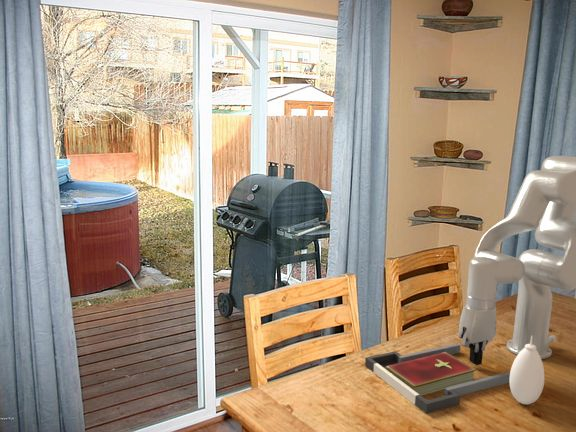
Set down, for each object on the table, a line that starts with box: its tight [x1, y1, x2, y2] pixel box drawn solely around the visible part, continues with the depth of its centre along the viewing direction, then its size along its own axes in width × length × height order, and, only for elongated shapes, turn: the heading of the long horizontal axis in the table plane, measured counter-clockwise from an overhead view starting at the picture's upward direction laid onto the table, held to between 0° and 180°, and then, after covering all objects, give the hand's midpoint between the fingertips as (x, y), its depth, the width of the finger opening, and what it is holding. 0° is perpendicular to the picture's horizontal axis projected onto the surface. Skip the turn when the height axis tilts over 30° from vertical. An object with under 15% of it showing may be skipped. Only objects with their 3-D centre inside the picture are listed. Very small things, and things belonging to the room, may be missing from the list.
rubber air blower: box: [508, 336, 545, 405], centre depth 132 cm, size 8×8×18 cm
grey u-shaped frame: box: [364, 343, 510, 414], centre depth 146 cm, size 31×26×2 cm
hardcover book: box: [386, 352, 477, 397], centre depth 144 cm, size 12×21×4 cm, turn 117°
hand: (475, 362), depth 151 cm, fingers closed
